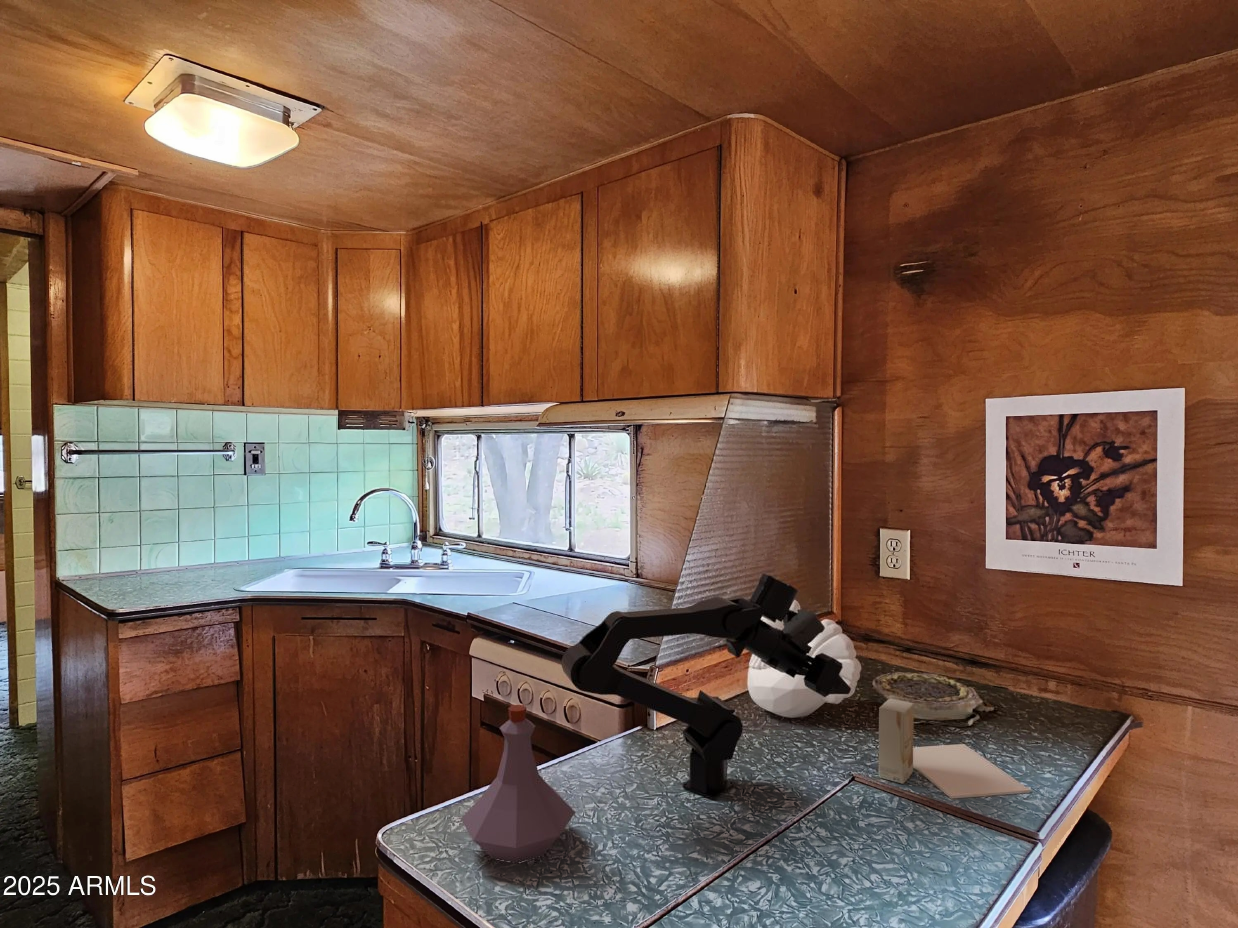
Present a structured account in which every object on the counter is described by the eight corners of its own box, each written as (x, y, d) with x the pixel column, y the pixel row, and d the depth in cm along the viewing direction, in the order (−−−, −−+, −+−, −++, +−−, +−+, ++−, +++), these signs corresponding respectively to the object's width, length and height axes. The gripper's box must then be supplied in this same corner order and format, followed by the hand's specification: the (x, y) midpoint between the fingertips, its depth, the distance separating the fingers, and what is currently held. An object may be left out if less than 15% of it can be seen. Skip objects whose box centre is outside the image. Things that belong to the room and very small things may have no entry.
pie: (858, 721, 149) (858, 697, 149) (854, 680, 175) (854, 660, 175) (1008, 736, 141) (1008, 711, 141) (981, 691, 167) (981, 670, 167)
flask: (521, 803, 115) (520, 680, 114) (599, 839, 105) (598, 704, 104) (436, 849, 102) (434, 711, 102) (515, 895, 92) (513, 741, 91)
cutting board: (951, 798, 116) (951, 795, 116) (894, 750, 134) (894, 748, 134) (1030, 792, 118) (1030, 789, 118) (963, 745, 136) (963, 743, 136)
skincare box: (903, 785, 120) (904, 713, 120) (877, 777, 123) (877, 707, 123) (914, 771, 126) (914, 702, 125) (888, 764, 128) (889, 696, 128)
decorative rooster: (731, 704, 157) (731, 592, 156) (785, 691, 165) (785, 584, 165) (817, 746, 136) (817, 616, 135) (873, 728, 144) (874, 605, 143)
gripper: (821, 613, 115) (889, 656, 120) (762, 591, 133) (822, 629, 137) (789, 676, 114) (859, 717, 118) (733, 644, 131) (795, 681, 136)
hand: (833, 682), depth 127 cm, fingers open, 9 cm apart
